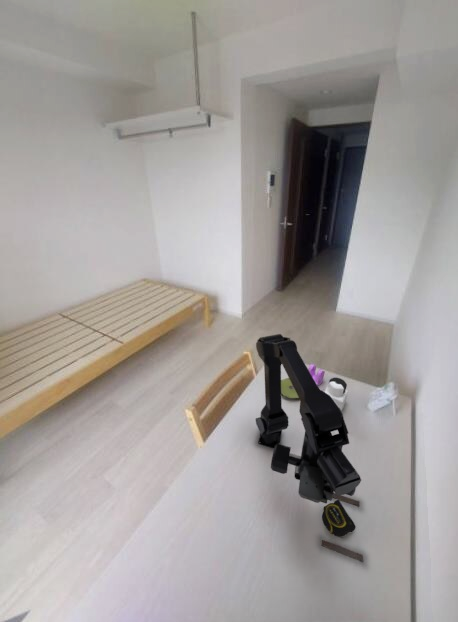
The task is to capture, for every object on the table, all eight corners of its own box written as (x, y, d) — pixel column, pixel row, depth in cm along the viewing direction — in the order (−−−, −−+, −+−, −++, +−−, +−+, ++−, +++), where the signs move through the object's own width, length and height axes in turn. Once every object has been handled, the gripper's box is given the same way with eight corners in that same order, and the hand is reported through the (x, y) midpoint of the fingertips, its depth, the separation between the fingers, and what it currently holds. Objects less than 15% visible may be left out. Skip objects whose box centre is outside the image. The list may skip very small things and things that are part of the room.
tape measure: (355, 533, 67) (358, 525, 66) (331, 543, 66) (334, 536, 64) (337, 504, 73) (340, 497, 71) (315, 513, 71) (317, 505, 70)
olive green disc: (310, 389, 110) (311, 386, 110) (297, 406, 103) (297, 402, 102) (286, 377, 117) (287, 374, 116) (272, 392, 110) (272, 388, 109)
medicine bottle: (326, 395, 108) (331, 372, 102) (344, 403, 104) (351, 380, 98) (320, 407, 103) (325, 383, 97) (339, 416, 99) (345, 391, 93)
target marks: (321, 545, 65) (321, 545, 65) (323, 490, 76) (323, 489, 76) (362, 561, 63) (363, 561, 62) (358, 502, 74) (359, 501, 73)
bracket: (311, 375, 119) (313, 362, 115) (322, 382, 115) (325, 369, 111) (292, 388, 111) (294, 375, 108) (303, 396, 108) (305, 383, 104)
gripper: (267, 468, 57) (264, 508, 64) (364, 499, 51) (348, 539, 58) (277, 425, 66) (273, 464, 73) (360, 448, 60) (346, 488, 68)
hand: (307, 487), depth 68 cm, fingers closed
